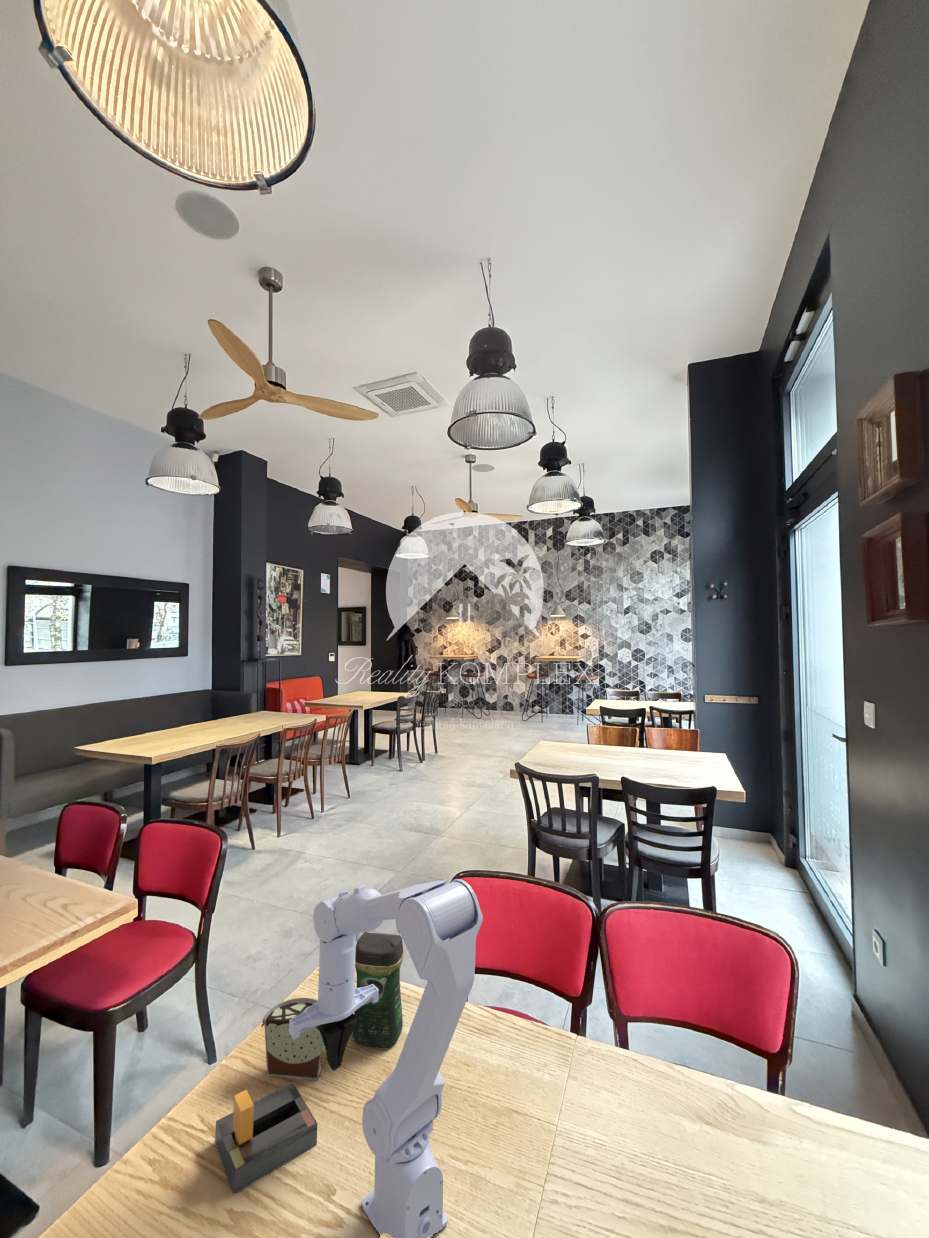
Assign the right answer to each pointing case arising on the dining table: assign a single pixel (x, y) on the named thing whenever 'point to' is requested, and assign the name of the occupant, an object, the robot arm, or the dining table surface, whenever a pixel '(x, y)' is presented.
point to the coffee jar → (381, 968)
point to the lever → (243, 1118)
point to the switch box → (267, 1137)
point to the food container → (292, 1043)
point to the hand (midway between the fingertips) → (334, 1064)
